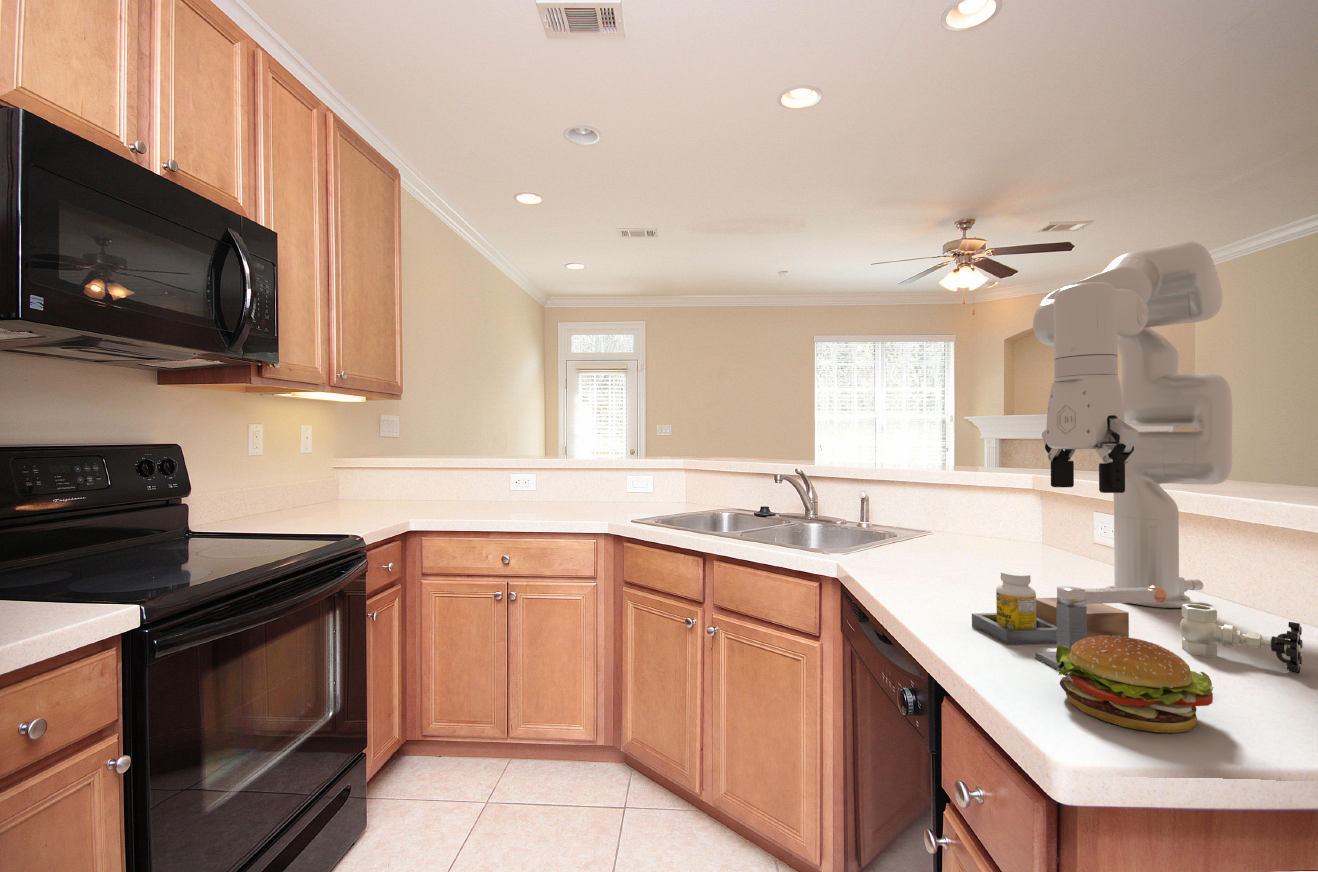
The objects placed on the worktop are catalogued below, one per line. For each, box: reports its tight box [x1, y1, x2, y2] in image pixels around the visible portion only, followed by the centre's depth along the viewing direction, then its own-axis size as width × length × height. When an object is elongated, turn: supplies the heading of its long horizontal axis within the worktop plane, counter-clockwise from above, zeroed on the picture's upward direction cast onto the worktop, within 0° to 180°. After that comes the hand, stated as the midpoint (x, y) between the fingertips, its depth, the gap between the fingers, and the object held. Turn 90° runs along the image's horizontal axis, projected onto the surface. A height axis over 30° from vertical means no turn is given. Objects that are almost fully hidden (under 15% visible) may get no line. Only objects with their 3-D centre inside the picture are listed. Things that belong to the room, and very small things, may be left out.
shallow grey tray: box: [971, 612, 1057, 646], centre depth 95 cm, size 9×9×2 cm
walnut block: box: [1036, 597, 1130, 638], centre depth 96 cm, size 9×9×4 cm
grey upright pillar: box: [1034, 602, 1087, 676], centre depth 82 cm, size 6×6×8 cm
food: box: [1055, 635, 1215, 733], centre depth 68 cm, size 14×14×8 cm
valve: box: [1179, 603, 1304, 675], centre depth 83 cm, size 7×7×12 cm
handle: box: [1056, 585, 1167, 607], centre depth 82 cm, size 15×3×2 cm, turn 93°
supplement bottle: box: [995, 569, 1037, 629], centre depth 95 cm, size 5×5×10 cm
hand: (1085, 489), depth 87 cm, fingers open, 9 cm apart
